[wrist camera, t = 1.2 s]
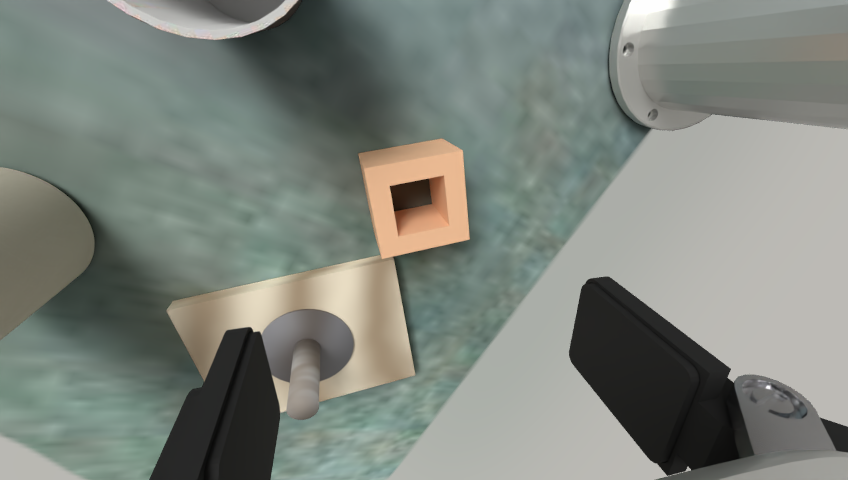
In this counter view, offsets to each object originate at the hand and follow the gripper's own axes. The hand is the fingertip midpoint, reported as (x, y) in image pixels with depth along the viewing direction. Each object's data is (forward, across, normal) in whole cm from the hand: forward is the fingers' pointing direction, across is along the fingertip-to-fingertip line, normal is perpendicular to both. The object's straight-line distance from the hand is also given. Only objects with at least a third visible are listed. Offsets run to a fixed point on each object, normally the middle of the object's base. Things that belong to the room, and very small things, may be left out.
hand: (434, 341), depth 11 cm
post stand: (+17, +6, +13) cm, 23 cm away
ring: (+18, -2, +1) cm, 18 cm away
